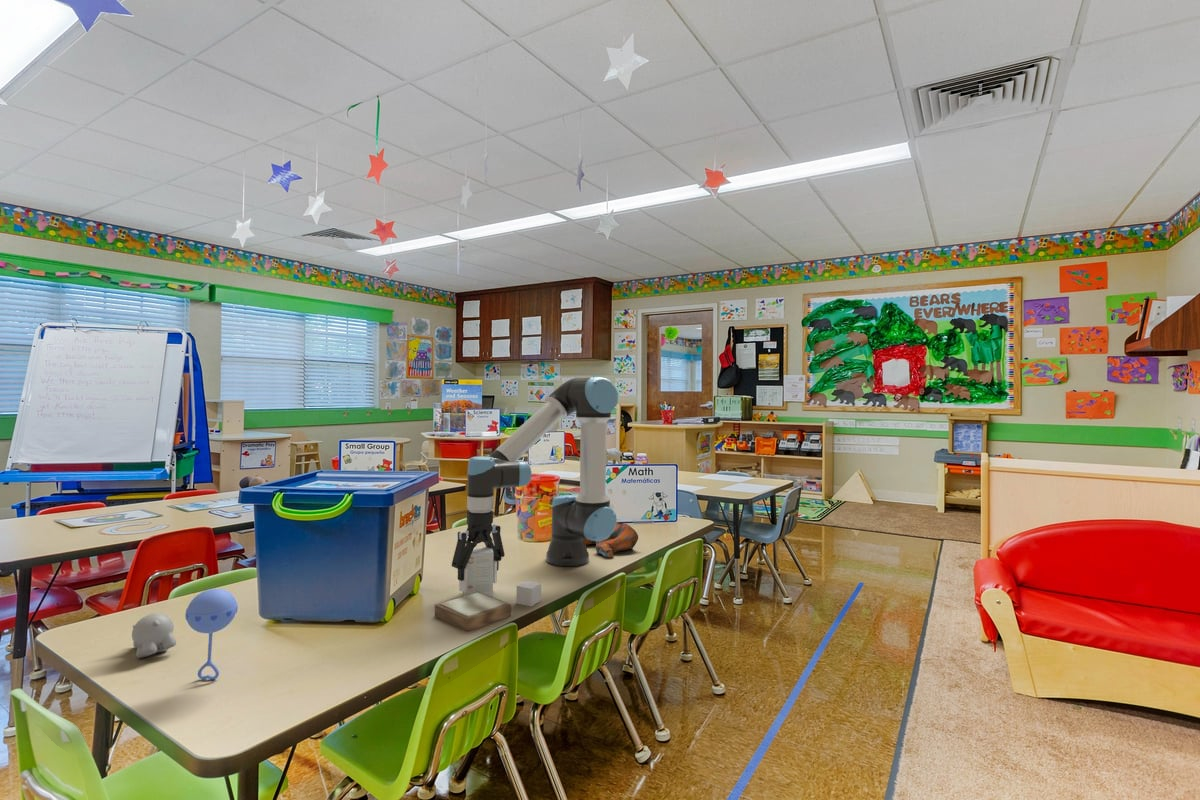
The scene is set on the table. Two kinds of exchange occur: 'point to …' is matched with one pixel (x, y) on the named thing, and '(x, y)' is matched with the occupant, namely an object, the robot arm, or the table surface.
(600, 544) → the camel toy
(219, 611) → the baby rattle
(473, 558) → the small box
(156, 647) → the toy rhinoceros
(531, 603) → the grey cube
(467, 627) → the stand
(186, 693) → the table surface
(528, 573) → the table surface
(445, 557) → the table surface
